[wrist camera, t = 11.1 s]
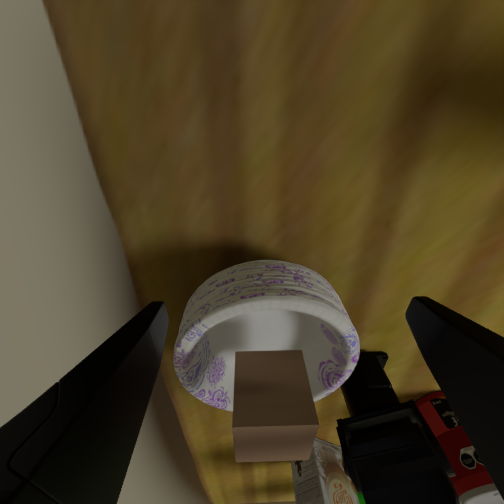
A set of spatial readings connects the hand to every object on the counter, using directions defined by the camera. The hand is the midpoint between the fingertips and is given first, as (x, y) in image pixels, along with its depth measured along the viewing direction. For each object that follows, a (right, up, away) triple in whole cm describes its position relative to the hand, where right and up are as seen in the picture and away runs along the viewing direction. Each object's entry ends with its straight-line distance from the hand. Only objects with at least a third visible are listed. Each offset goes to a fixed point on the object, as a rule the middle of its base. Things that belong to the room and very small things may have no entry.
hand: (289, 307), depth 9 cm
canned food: (+28, -22, +30) cm, 46 cm away
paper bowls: (0, -3, +18) cm, 18 cm away
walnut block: (0, -8, +11) cm, 13 cm away
